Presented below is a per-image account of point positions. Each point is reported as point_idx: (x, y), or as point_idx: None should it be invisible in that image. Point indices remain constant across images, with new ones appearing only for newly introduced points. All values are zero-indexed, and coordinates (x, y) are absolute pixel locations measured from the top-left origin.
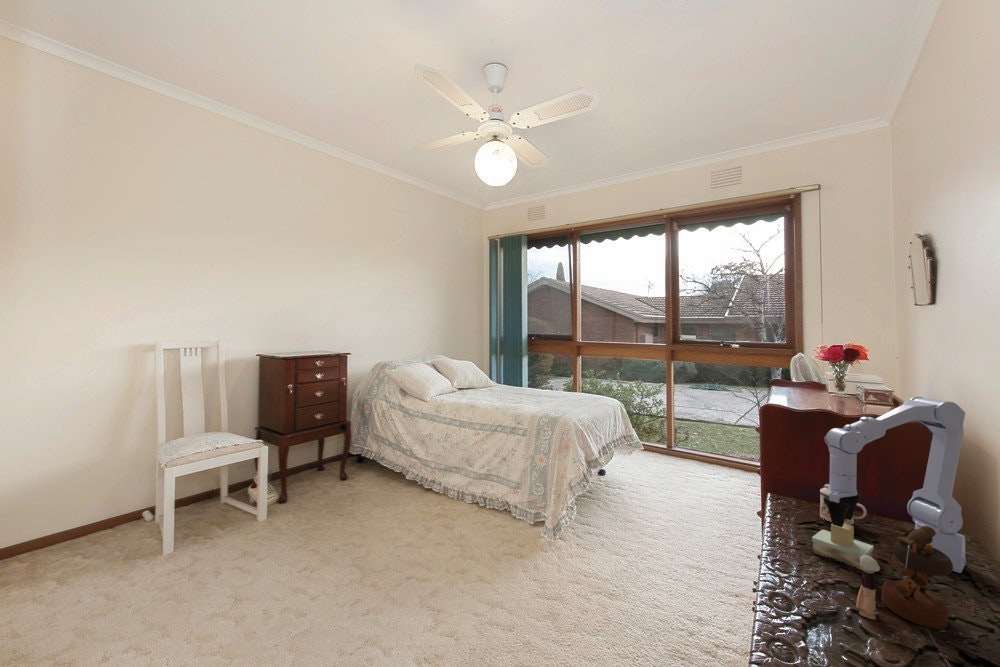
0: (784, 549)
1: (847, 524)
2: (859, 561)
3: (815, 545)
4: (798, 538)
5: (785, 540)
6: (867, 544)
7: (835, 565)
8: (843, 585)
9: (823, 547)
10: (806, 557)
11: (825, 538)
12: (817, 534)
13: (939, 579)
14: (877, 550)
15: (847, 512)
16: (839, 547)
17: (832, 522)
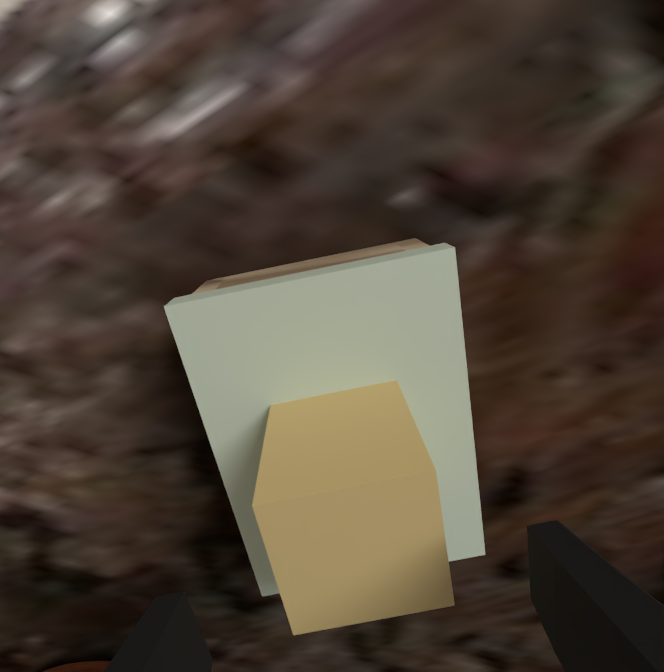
0: (23, 159)
1: (440, 567)
2: None
3: None
4: (335, 86)
5: (182, 56)
6: (470, 533)
7: (181, 428)
8: (11, 543)
9: None
10: (88, 303)
11: (266, 368)
12: (281, 293)
13: (525, 647)
14: (636, 427)
15: (586, 662)
16: (223, 481)
17: (141, 622)
